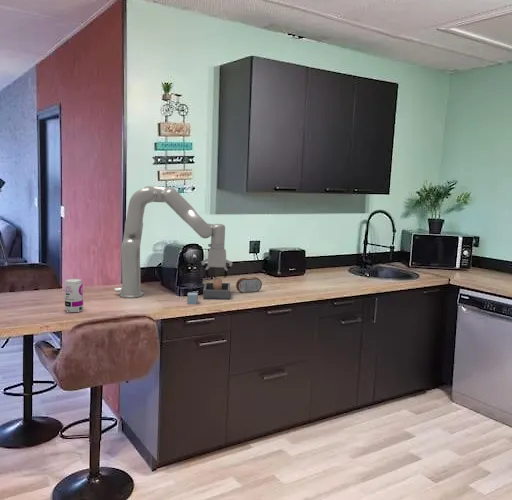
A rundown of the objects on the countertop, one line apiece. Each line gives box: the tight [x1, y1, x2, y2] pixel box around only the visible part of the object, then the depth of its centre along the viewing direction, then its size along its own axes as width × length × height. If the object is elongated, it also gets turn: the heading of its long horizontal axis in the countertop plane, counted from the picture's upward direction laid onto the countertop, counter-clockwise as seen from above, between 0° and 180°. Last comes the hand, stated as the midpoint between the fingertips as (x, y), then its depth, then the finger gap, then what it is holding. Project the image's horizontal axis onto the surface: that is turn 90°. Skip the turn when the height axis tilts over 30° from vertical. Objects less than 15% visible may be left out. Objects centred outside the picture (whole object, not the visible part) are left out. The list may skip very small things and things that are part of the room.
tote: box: [202, 282, 231, 301], centre depth 289 cm, size 14×18×5 cm
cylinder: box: [212, 278, 223, 290], centre depth 293 cm, size 5×5×7 cm
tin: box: [235, 276, 263, 294], centre depth 298 cm, size 15×3×8 cm, turn 113°
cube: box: [186, 292, 199, 305], centre depth 272 cm, size 5×5×5 cm
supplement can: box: [64, 278, 84, 313], centre depth 251 cm, size 8×8×15 cm
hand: (216, 277), depth 292 cm, fingers open, 9 cm apart
